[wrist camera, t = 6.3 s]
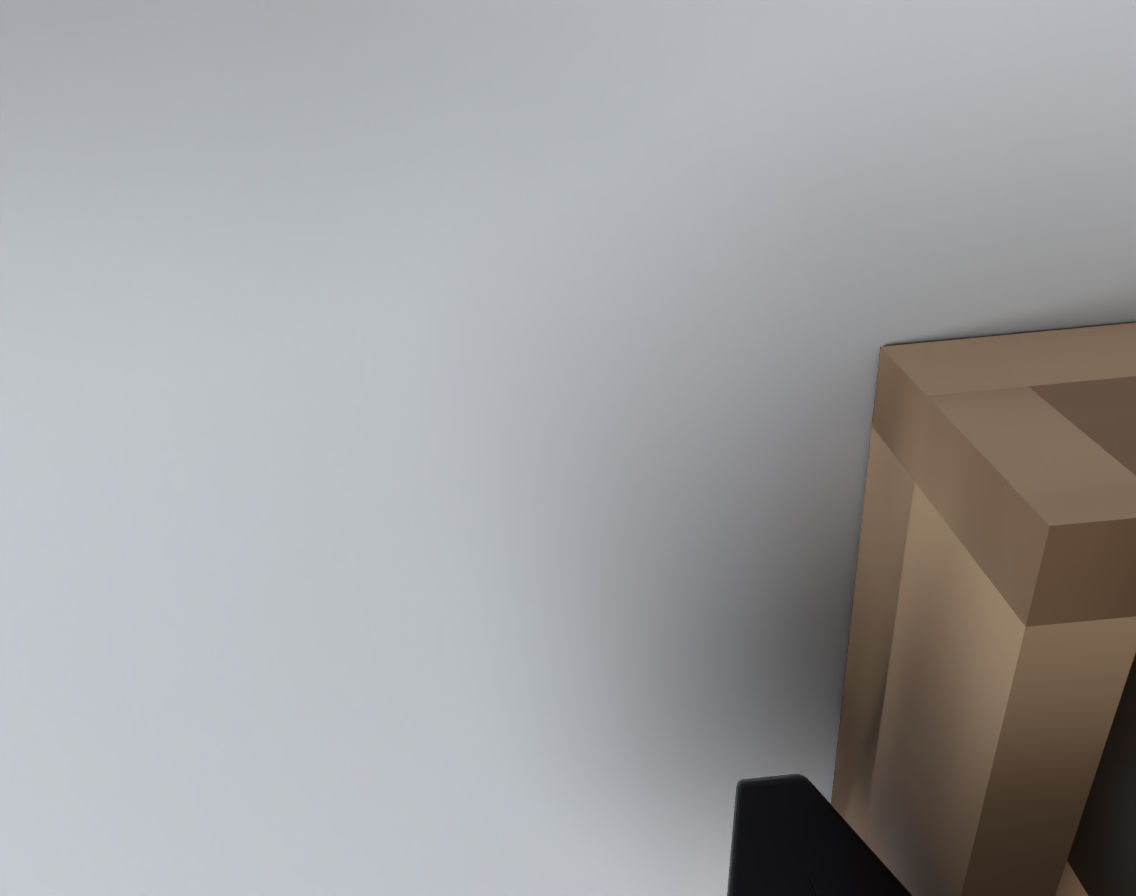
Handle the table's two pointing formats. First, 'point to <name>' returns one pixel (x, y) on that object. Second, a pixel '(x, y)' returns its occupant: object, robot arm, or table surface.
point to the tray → (997, 618)
